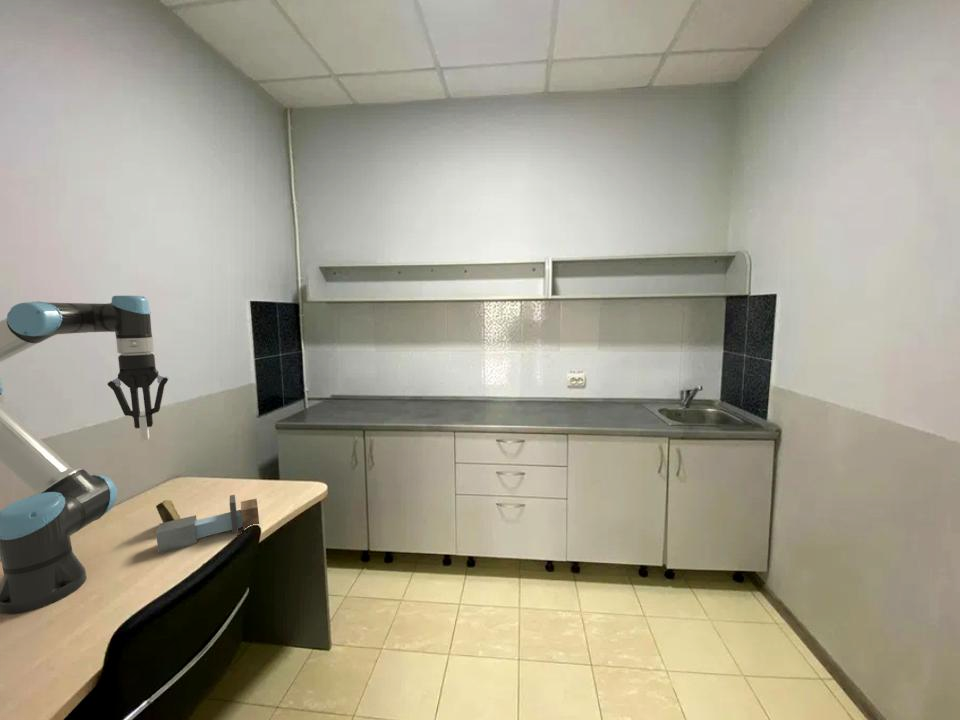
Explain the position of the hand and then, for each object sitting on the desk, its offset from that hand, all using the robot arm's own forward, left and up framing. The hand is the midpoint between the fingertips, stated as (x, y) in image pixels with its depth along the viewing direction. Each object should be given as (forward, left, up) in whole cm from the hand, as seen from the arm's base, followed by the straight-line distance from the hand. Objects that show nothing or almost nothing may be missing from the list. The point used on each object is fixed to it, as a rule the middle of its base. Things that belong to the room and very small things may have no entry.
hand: (145, 438), depth 114 cm
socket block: (+23, +3, -34) cm, 41 cm away
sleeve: (+4, +3, -34) cm, 34 cm away
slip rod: (+14, +3, -33) cm, 36 cm away
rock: (+2, +17, -34) cm, 38 cm away
